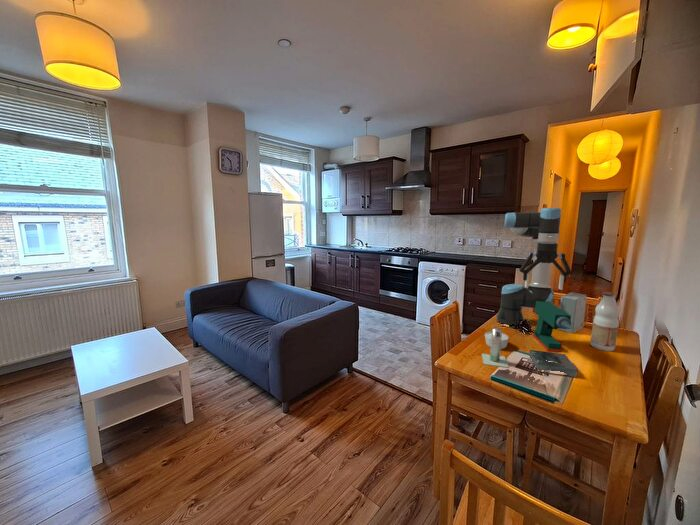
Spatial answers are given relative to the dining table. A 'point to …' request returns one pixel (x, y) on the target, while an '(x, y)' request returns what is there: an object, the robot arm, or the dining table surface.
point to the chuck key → (495, 344)
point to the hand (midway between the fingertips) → (543, 288)
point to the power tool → (550, 324)
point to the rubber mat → (488, 362)
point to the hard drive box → (574, 310)
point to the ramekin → (503, 339)
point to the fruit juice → (605, 323)
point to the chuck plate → (562, 359)
